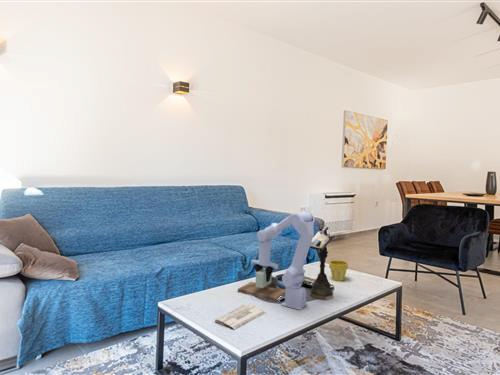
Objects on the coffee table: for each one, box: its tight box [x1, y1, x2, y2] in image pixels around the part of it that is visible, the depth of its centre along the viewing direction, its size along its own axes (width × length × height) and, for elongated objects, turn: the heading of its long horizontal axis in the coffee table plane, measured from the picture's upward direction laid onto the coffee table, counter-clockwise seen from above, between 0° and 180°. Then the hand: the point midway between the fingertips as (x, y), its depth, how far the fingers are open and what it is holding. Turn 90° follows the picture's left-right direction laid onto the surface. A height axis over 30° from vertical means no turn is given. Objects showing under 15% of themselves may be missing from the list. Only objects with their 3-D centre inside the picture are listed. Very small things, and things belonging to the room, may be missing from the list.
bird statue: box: [309, 226, 335, 301], centre depth 176 cm, size 17×13×35 cm
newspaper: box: [214, 303, 267, 331], centre depth 153 cm, size 23×12×2 cm, turn 141°
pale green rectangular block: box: [255, 267, 273, 288], centre depth 180 cm, size 4×9×7 cm, turn 148°
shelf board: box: [237, 275, 285, 302], centre depth 182 cm, size 22×13×7 cm, turn 58°
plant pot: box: [328, 259, 349, 282], centre depth 204 cm, size 10×10×10 cm
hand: (264, 280), depth 180 cm, fingers closed on pale green rectangular block, 4 cm apart
